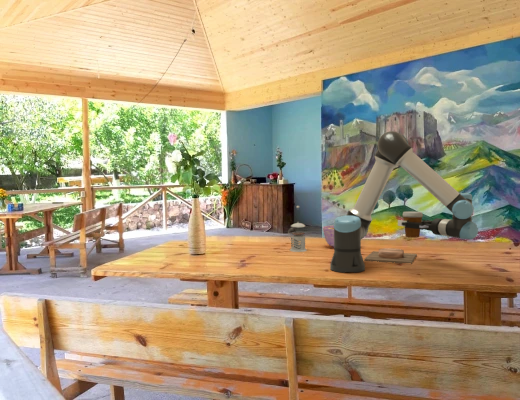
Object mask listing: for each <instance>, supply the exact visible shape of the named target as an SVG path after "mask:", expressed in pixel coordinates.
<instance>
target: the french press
mask: <svg viewBox="0 0 520 400" xmlns="http://www.w3.org/2000/svg"><path fill="white" fill-rule="evenodd" d="M299 208H300V205H296V209H299ZM305 227H306V225H305V224H304V223H301V222H296V223H293V224H291V225H290V228H289V229H288V231H287V233H290V232H291V231H294V230H295V228H297V229H299V228H305ZM291 234H292V235H291ZM291 234H287V237H288V239H289V240H290V243H291V244H290V245H291V246H290V247H291V248H290V249H289V251H290V252H293V253H304V252H307V251H308V249H307V248H306V235H305V232H303V231H301V232H300V231H295V232H291Z"/></svg>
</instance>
